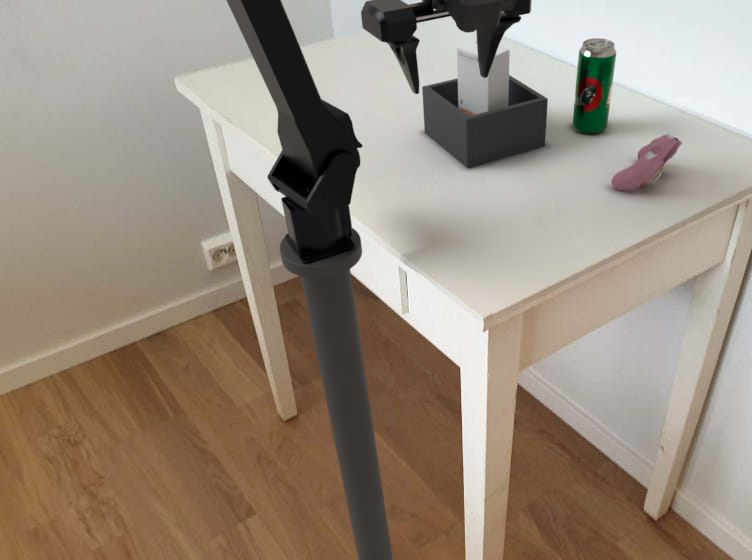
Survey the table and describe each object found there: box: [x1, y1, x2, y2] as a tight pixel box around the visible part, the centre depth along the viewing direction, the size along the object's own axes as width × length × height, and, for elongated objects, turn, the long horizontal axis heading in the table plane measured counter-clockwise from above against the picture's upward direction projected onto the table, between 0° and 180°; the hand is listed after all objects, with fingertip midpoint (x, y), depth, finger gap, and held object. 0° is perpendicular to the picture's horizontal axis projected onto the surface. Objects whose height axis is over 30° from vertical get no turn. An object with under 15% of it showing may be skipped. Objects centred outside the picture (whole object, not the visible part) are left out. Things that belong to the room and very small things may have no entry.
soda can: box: [571, 37, 617, 135], centre depth 102 cm, size 5×5×12 cm
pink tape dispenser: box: [611, 132, 683, 191], centre depth 93 cm, size 10×5×7 cm, turn 147°
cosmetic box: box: [456, 39, 511, 116], centre depth 100 cm, size 6×4×12 cm
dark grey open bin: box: [421, 74, 549, 169], centre depth 102 cm, size 13×13×7 cm
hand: (450, 84), depth 86 cm, fingers open, 9 cm apart
